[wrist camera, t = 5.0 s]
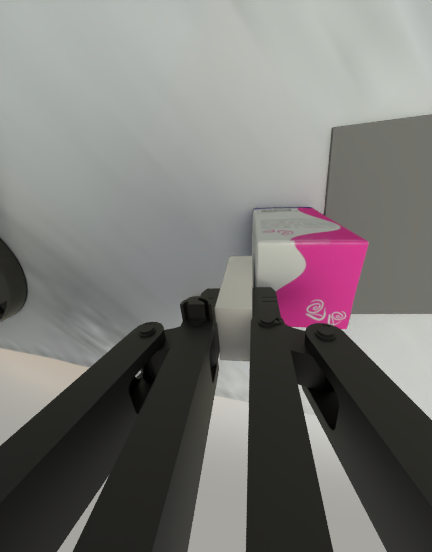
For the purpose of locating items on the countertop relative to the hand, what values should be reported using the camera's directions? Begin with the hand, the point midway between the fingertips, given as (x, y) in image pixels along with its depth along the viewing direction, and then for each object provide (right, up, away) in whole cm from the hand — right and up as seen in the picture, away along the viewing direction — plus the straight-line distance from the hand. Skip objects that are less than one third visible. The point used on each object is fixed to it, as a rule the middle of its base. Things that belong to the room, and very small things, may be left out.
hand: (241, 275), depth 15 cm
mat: (+15, +4, +6) cm, 17 cm away
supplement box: (+5, +4, +8) cm, 10 cm away
